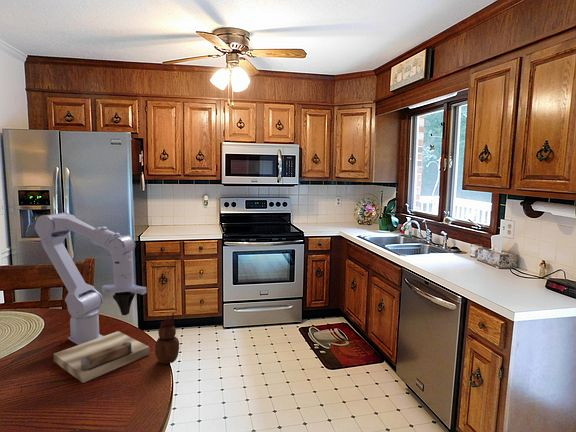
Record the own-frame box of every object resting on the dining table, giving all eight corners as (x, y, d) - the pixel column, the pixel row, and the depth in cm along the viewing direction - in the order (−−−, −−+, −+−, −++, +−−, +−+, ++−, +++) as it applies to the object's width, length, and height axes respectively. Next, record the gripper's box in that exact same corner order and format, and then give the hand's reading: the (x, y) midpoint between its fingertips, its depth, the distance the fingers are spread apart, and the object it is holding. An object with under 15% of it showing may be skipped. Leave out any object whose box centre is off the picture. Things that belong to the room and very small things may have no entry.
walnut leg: (83, 370, 100) (83, 362, 99) (79, 367, 101) (79, 359, 101) (133, 351, 111) (133, 343, 110) (128, 349, 112) (128, 341, 112)
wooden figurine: (181, 356, 114) (180, 310, 112) (176, 366, 109) (175, 317, 107) (159, 356, 114) (158, 309, 112) (153, 366, 108) (151, 317, 107)
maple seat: (54, 361, 110) (53, 353, 109) (118, 338, 126) (118, 330, 125) (82, 383, 99) (82, 373, 99) (149, 354, 115) (149, 346, 115)
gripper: (94, 275, 116) (97, 317, 117) (137, 278, 113) (139, 320, 115) (108, 270, 123) (111, 309, 124) (149, 271, 120) (151, 311, 122)
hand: (125, 314), depth 120 cm, fingers closed
